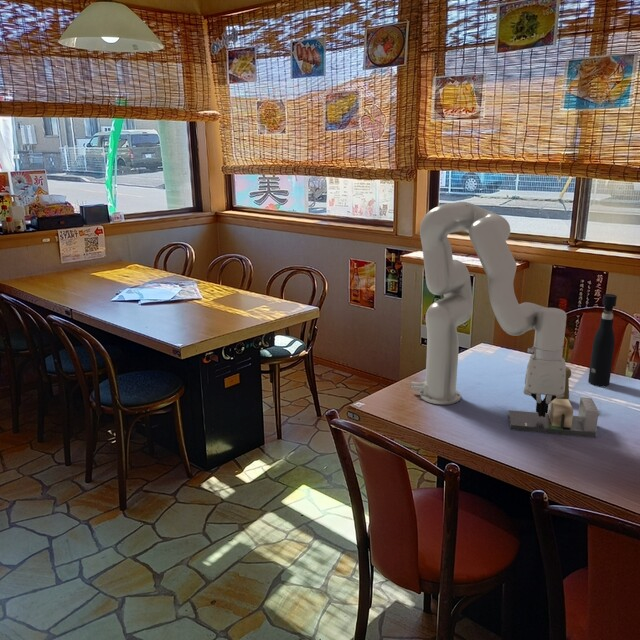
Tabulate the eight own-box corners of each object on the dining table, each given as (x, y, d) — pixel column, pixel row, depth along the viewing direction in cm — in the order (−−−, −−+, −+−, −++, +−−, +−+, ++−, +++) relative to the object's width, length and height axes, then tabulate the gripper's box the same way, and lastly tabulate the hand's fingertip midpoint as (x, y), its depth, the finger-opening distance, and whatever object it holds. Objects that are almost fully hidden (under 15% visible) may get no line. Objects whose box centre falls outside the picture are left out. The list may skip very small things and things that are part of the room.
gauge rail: (510, 429, 168) (513, 405, 166) (508, 414, 177) (510, 391, 175) (595, 437, 163) (599, 412, 161) (588, 421, 172) (591, 397, 170)
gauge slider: (552, 427, 165) (554, 410, 163) (548, 413, 173) (549, 397, 172) (572, 429, 164) (574, 412, 162) (566, 415, 172) (568, 399, 171)
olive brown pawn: (571, 405, 183) (575, 371, 180) (550, 403, 184) (553, 370, 181) (567, 397, 189) (571, 364, 186) (547, 396, 190) (550, 363, 187)
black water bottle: (610, 381, 201) (622, 294, 193) (607, 388, 196) (619, 298, 188) (589, 378, 205) (600, 292, 196) (586, 384, 199) (597, 296, 191)
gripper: (520, 355, 163) (514, 418, 168) (579, 359, 159) (571, 423, 164) (517, 347, 170) (512, 407, 175) (574, 350, 166) (567, 411, 171)
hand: (541, 414), depth 170 cm, fingers closed
